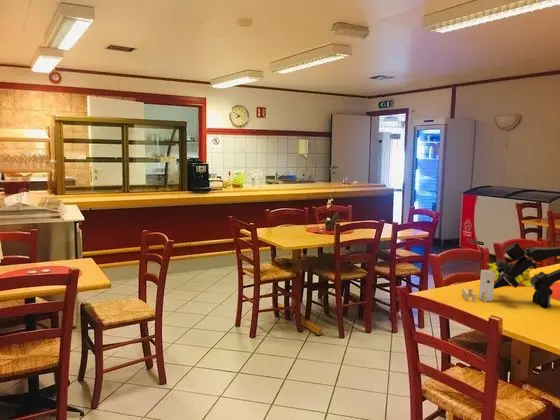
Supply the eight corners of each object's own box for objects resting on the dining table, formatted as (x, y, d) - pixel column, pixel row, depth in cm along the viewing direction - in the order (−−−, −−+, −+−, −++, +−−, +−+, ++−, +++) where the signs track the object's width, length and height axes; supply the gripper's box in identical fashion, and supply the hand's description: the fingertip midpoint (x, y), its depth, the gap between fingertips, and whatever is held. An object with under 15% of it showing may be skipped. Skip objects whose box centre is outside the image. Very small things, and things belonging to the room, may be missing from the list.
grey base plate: (498, 298, 229) (499, 289, 229) (505, 306, 218) (506, 297, 217) (461, 296, 233) (462, 287, 232) (466, 303, 221) (467, 294, 220)
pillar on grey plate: (489, 298, 227) (491, 270, 225) (492, 301, 222) (494, 272, 220) (479, 297, 228) (480, 269, 226) (481, 300, 223) (483, 272, 221)
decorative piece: (535, 265, 270) (534, 276, 244) (534, 278, 271) (532, 291, 245) (487, 259, 283) (480, 269, 257) (486, 272, 284) (479, 283, 258)
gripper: (502, 250, 229) (476, 271, 233) (513, 259, 211) (485, 280, 215) (517, 267, 229) (492, 287, 232) (530, 277, 211) (502, 298, 214)
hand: (492, 288), depth 223 cm, fingers closed, pressing on pillar on grey plate
